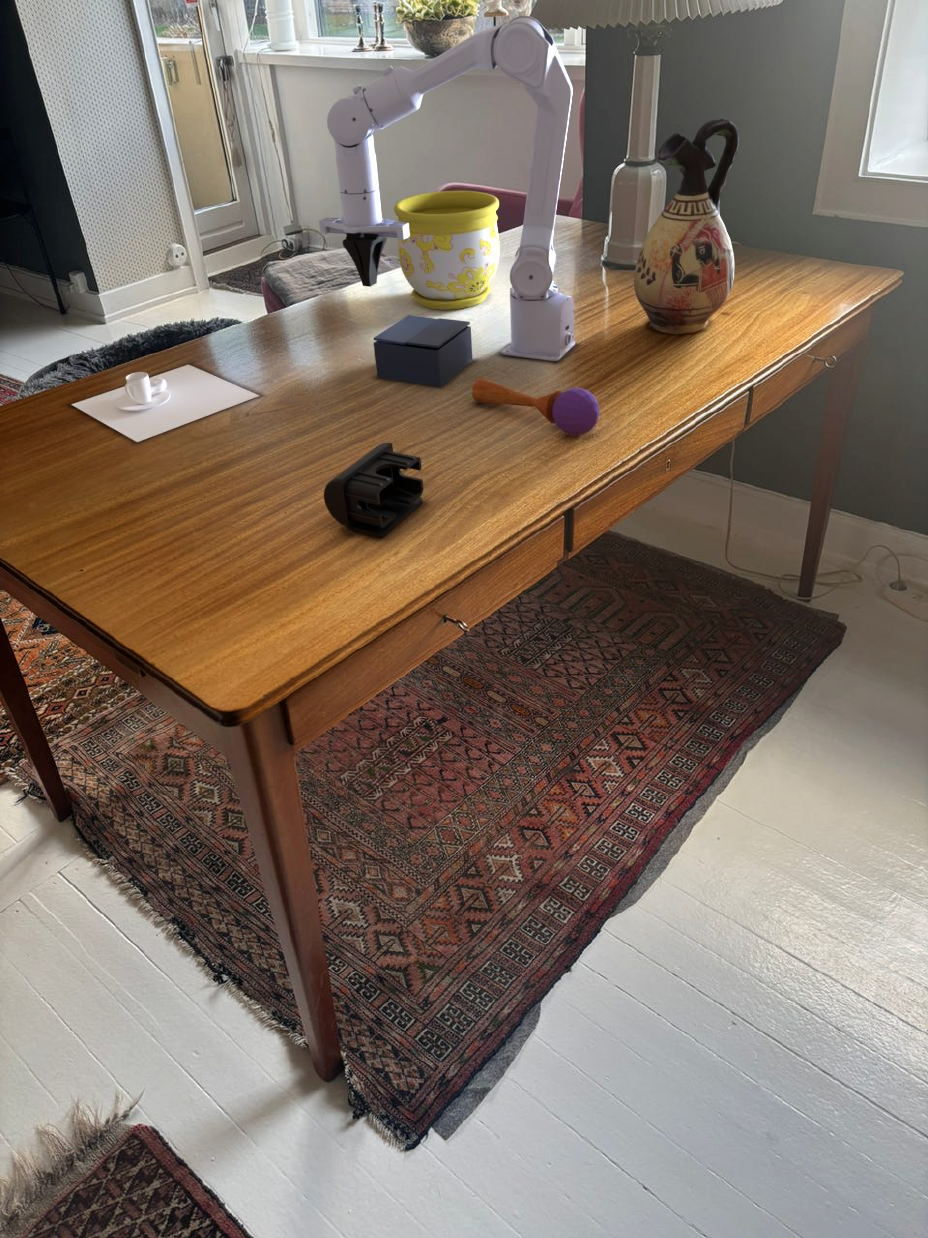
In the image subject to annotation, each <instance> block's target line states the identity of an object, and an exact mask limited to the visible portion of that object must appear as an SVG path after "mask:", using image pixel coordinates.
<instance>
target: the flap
mask: <svg viewBox="0 0 928 1238" xmlns="http://www.w3.org/2000/svg"><path fill="white" fill-rule="evenodd" d="M437 319H438V318H433V317H427V316H420V315H413V314H408V315H406V316H404V317H403V318H401V319H400V320H398V321H397V322H395V323H394V324H392V325H391V326H389V327H387V329H384V330H383V331H382V332H380V333H379V334H377V335H376V336H374V337H373V341H375V342H376V341H383V342H389V343H395V344H402V345H406V341H408V340H409V339H410V338H412V337H413V336H415V335H416V334H418V333H419V332H420V331H422V330H423V329H425V328H426V327H428V326H429V325H430V324H432V323H433V322H435V321H436V320H437Z"/></svg>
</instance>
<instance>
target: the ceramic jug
mask: <svg viewBox="0 0 928 1238" xmlns="http://www.w3.org/2000/svg"><path fill="white" fill-rule="evenodd" d="M739 134H740V133H739V130H738V127H737V126H736V125H735V124H734V123H733V122H732V121H730V120H728V119H727V118H718V119H712V120H710V121H707V122H705V123H704V124H703V125H702V126H701V127H700V128H699V129H698V130H697V132H696V134H695V137H694V139H693V141H691V140H689V138H687V137H685V136H684V135H683V134H682V133H680V132H674V133H673V134H672V135H670V136H669V137H668V138H667V139H666V140H665V141H664V142H663V144H662V145H661V147H660V148H659V150H658V152H657V157H656V158H657V159H656V160H657V161H658V162H659V163H660V164H664V165H666V166H669V167H672V168H674V169H676V170H678V171H679V172H680V173H681V174H682V179H681V182H680V188H679V189H678V190H677V191H676V193H675V195H674V196H673V198H671V200H670V201H669V203H668V204H667V205H666V206H665V207H664V209H663V210H662V211H661V213H660V214H659V216H658V217H657V219H656V221H655V222H654V224H653V225H652V226H651V228H650V230H649V231H648V232H647V235H646V237H645V239H644V241H643V242H642V245H641V248H640V250H639V252H638V257H637V261H636V264H635V268H634V272H633V286H634V287H633V288H634V293H635V296H636V298H637V301H638V303H639V304H640V306H641V307H642V309H643V311H644V312H645V314H646V316H647V318H648V320H649V328H650V329H653V330H654V329H655V330H656V331H659V332H661V333H664V334H669V335H682V334H693V333H697V332H700V331H701V330H703V329H704V328H706V327H707V325H708V323H709V320H710V318H711V317H712V316H713V315H714V314H715V313H716V312H717V311H718V310H719V309H720V308H721V307H722V306H723V305H724V304H725V303H726V301H727V299H728V297H729V296H730V294H731V292H732V289H733V286H734V280H735V255H734V249H733V245H732V241H731V237H730V236H729V234H728V232H727V228H726V226H725V223H724V221H723V219H722V217H721V215H720V206H721V205H720V203H721V194H722V191H723V188H724V186H725V185H726V183H727V179H728V175H729V173H730V170H731V168H732V166H733V163H734V160H735V157H736V155H737V154H738V148H739V140H740V135H739ZM714 136H720V137H723V138H724V139H725V146H724V148H723V152H722V155H721V157H720V159H719V162H718V165H717V164H716V160H715V158H714V156H713V154H712V152H711V150H710V149H709V148H707V142H708V140H709V139H710V138H712V137H714ZM716 166H717V167H716ZM715 167H716V168H717V169H716V172H715V173H714V175H713V177H712V179H711V181H710V184H709V186H707V181H706V171H708V170H710V169H713V168H715Z"/></svg>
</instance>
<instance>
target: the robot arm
mask: <svg viewBox="0 0 928 1238" xmlns="http://www.w3.org/2000/svg"><path fill="white" fill-rule="evenodd" d="M497 67H498V68H499V70H500V71H501V72H502V73H503V74H504V75H506V76H507V77H509V78H510V79H512V80H513V81H515V82H517V83H518V84H520V85H521V86H523V88H524V90H525V91H526V92H527V94H528V95H529V96H530V98H531V99H532V100H533V101H534V102H535V104H536V114H535V121H534V123H535V124H534V130H533V131H534V132H533V139H532V140H533V141H532V147H531V148H532V149H531V157H530V166H529V173H528V182H527V190H526V199H525V207H524V214H523V223H522V229H521V230H522V231H521V236H520V243H519V246H518V248H517V250H516V252H515V256H514V262H513V264H512V266H511V268H510V271H509V281H510V285H511V287H510V288H509V309H510V310H509V312H510V313H509V314H510V316H509V317H510V343H509V344H508V345H507V346H506V347H505V348H504V349H502V350H501V355H503V356H509V357H510V356H511V357H518V358H527V359H535V360H543V361H551V362H559V361H560V360H561V359H562V358H563V357H564V356H565V355H566V354H567V353H568V352H569V351H570V350H571V349H572V348H573V347H574V346H575V345H576V341H575V338H574V337H575V303H574V299H573V297H572V296H571V295H568V294H563V293H561V292H559V291H558V290H559V289H558V285H557V284H556V283H555V282H554V271H555V268H556V263H557V254H556V252H555V249H554V245H553V240H554V233H555V231H554V230H555V224H556V223H555V222H556V215H557V207H558V200H559V194H560V185H561V178H562V171H563V165H564V157H565V150H566V142H567V136H568V135H567V134H568V130H569V129H568V128H569V122H570V114H571V106H572V98H573V85H572V81H571V79H570V77H569V74H568V73H567V69H566V67H565V65H564V63H563V60H562V58H561V55H560V53H559V51H558V49H557V46H556V42H555V40H554V36H552V34H551V33H550V32H549V31H548V30H547V29H546V28H545V26H543V24H542V23H541V22H540V21H539V20H538V19H536V18H535V17H533V16H530V15H519V16H516V17H514V18H512V19H511V20H509V22H508V23H506V25H504V22H503V23H500V24H497V25H494V26H491V27H489V28H485V29H483V30H481V31H478V32H476V33H474V34H472V35H470V36H469V37H467V38H465V39H463V40H462V41H460V42H459V43H457V44H456V45H454V46H452V47H451V48H449V49H447V50H445V51H444V52H443V53H441V54H439V55H438V56H436V57H434V58H432V59H431V60H429V61H427V62H426V63H424V64H423V65H420V66H419V67H418V68H416V69H415V70H414V69H409V68H407V67H405V66H401V65H399V66H397V67H395V68H394V67H393V66H392V65H389V66H387V67H385V68H384V69H382V70H381V73H382V75H381V76H379V77H378V78H376V79H374V80H372V81H370V82H369V83H367V84H366V85H364V86H361V84H358V85H356V86H354V87H353V88H352V91H353V94H349V95H346V96H344V97H342V98H339V99H338V100H337V101H336V102H335V103H334V104H333V105H332V106H331V107H330V109H329V111H328V114H327V118H326V124H327V129H328V132H329V134H330V135H331V138H333V140H334V148H335V162H336V172H337V179H338V189H339V195H340V202H341V212H342V217H341V216H340V217H323V218H321V219H319V220H318V226H319V233H320V234H322V235H326V234H341V235H346V236H345V239H343V240H342V241H341V242H342V246H343V248H344V249H345V250H346V251H347V253H348V255H349V256H350V258H351V260H352V262H353V264H354V267H355V268H356V270H357V273H358V276H359V278H360V282H361V285H362V287H368V288H369V287H373V286H374V285H377V282H378V273H379V266H380V262H381V258H382V254H383V251H384V249H385V245H386V243H387V241H388V238H389V239H390V238H392V239H397V241H398V240H404V239H406V238H408V237H409V236H410V234H409V223H403V222H398V220H391V219H387V218H383V216H382V206H381V205H382V204H381V193H380V185H379V175H378V165H377V155H376V151H375V143H374V135H373V133H374V131H381V130H383V129H386V128H387V127H390V126H391V125H392V124H394V123H396V122H398V121H400V120H402V119H403V118H406V117H408V116H409V115H410V114H413V113H415V112H416V111H418V110H419V109H420V108H421V105H422V100H423V96H424V94H427V93H429V92H430V91H432V90H434V89H436V88H438V87H440V86H442V85H444V84H447V83H448V82H450V81H453V80H454V79H456V78H457V77H460V76H462V75H464V74H465V73H468V72H469V71H472V70H474V69H475V70H480V71H481V70H482V71H487V72H493V71H495V69H497Z"/></svg>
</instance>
